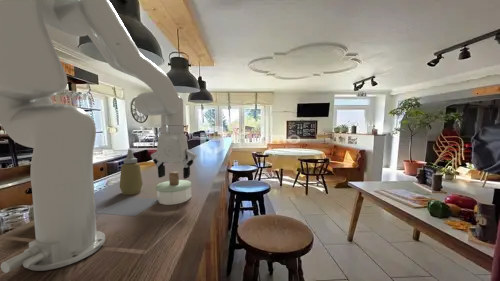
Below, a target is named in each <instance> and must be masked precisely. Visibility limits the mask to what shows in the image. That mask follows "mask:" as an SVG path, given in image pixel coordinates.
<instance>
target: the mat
mask: <svg viewBox="0 0 500 281" xmlns="http://www.w3.org/2000/svg"><path fill="white" fill-rule="evenodd" d="M158 203H159V202H158V200H157V198H151V197H135V196H128V197H126V198H124V199H121V200H119V201H117V202H115V203H113V204H110V205H108V206H107V207H104V208H102V209H100V210H98V211H95V214H99V215H113V216H127V217H136V216H139V215H140V214H142V213H143V212H145V211H146V210H148V209H149V208H151V207H152V206H154V205H156V204H158Z"/></svg>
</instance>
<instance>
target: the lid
mask: <svg viewBox="0 0 500 281" xmlns="http://www.w3.org/2000/svg"><path fill="white" fill-rule="evenodd" d="M179 173H180V172H179V171H170V172H169V173H168V177H169V178H168V179H169V180H166V181H162V182H159V183H158V184H156V185H155V190H156V192H157V191H159V192H178V191H183V190H186V189H188V188H190V187H191V188H192V181H191V180H187V179H179V177H180V176H179Z"/></svg>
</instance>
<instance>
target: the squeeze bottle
mask: <svg viewBox="0 0 500 281" xmlns="http://www.w3.org/2000/svg"><path fill="white" fill-rule="evenodd" d="M143 184H144V182H143V177H142V171H141V165H140V163H138V158H136V157H135V156H134V153H133V150H132V149H128V150H127V154H126V158H124V159H123V164H122V165H120V177H119V189H120V191H121V193H122V195H124V196H128V195H129V196H132V195H136V194H139V193H140V192H141V190H142V187H143Z"/></svg>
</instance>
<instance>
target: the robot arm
mask: <svg viewBox="0 0 500 281" xmlns="http://www.w3.org/2000/svg"><path fill="white" fill-rule="evenodd" d="M47 26H49V27H51V28H54V29H56V30H58V31H60V32H62V33H63V32H64V33H65V34H68V35H71V36H75V37H86V36H88V37H89V39H90V40H91V42H92V44H94V46H95V47H96V48H97V50H98V52H100V54H101V56H103V58H104V59H105V61H106V62H107V64H108V65H109V66H110V67H111V68H113V69H114V70H116V71H118V72H121V73H123V74H126V75H128V76H131V77H134V78H136V79H138V80H139V81H141V82H142V83H144V84H146V86H148V87H149V89H151V91H147V92H142V93H139V94H138V95H137V96H136V97H135V99H134V107H135V109H136V110H137V111H138V112H139V113H140V114H142V115H145V116H149V117H150V116H160V120H161V121H160V126H159V127H158V131H159V132H160V133H161V134H159V135H158V138H157V147H156V151H155V152H153V153H151V154H150V157H151V159H152V162H153V163H154V164H155V166H156V167H157V176H158V179H159V178H163V177H165V176H166V165H164V164H165V163H169V164H170V163H171V164H174V163H175V164H179V163H181V164H182V165H183V169H182V171H183V180H187V179H188V178H190V176H191V167H192V165H193V164H194V163H195V161H196V159H197V157H198V156H197V154H195V153H194V152H192V151H190V150H189V146H188V140H187V136H186V134H185V129H184V128H185V127H184V124H185V123H184V122H185V121H184V99H183V98H182V97H181V96H180V95H179V94H178V91H177V90H176V87H175V86H174V84H173V81H172V80H171V79H170V77H169V76H168V75H167V74H166V73H165V72H164V70H162V69H161V68H160V67H159V66H158V65H156V64H155V62H152V61H151V60H150V59H149V58H147V57H145V56H144V55H143V54H142V53H141V52H140V50H139V48H138V46H137V45H136V43H135V41H134V40H133V39H132V37H131V35H130V33H129V31H128V29H127V28H126V27H125V25H124V23H123V21H122V19H121V18H120V16H119V15H118V13H117V11H116V9H115V8H114V6H113V4H112V3H111V2H110V0H0V126H1V127H2V129H3V130H4V132H5V134H7V136H8V137H9V138H10V139H12V140H13V141H14V142H15V143H17V144H18V145H21V146H23V147H27V148H32V149H33V151H32V155H31V162H30V185H31V192H32V193H31V194H32V196H31V197H32V207H33V221H34V233H35V235H34V237H35V239H34V240H31V241H29V242H28V248H27V249H25V250H23V252H22V253H20V254H18V255H15V256H13V257H11V258H9V259H7V260H5V261H2V263H1V264H0V269H1V271H2V272H3V273H5V274H6V273H10V272H11V271H13V270H15V269H16V268H18V267H20V266H22V267H24V268H25V269H28V270H31V271H35V272H37V271H38V272H39V271H41V272H42V271H49V270H51V271H52V270H55V269H59V268H63V267H67V266H69V265H72V264H75V263H77V262H79V261H82V260H84V259H85V258H88V257H89V256H91V255H93V254H94V253H96V252H97V251H99V249H100V248H102V247H103V244H104V243H105V241H106V234H105V233H104V232H103V231H99V230H97V220H96V219H97V215H96V214H97V213H95V212H96V201H95V200H96V199H95V196H96V195H95V183H94V182H95V181H94V166H93V165H94V161H93V160H94V148H95V142H96V137H97V136H96V134H97V128H96V123H95V121H94V119H93V118H92V116H91V115H90V114H89V113H88V112H86V111H85V110H84V109H83V108H81V107H78V106H75V105H71V104H66V103H64V104H63V103H53V100H52V97H56V96H57V95H60V94H62V93H63V92H64V91H65V90H66V88H67V86H68V76H67V72H66V70H65V69H64V66H63V64H62V61H61V59H60V57H59V55H58V52H57V50H56V48H55V45H54V43H53V41H52V39H51V37H50V34H49V32H48V29H47ZM189 157H190V159H189Z"/></svg>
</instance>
